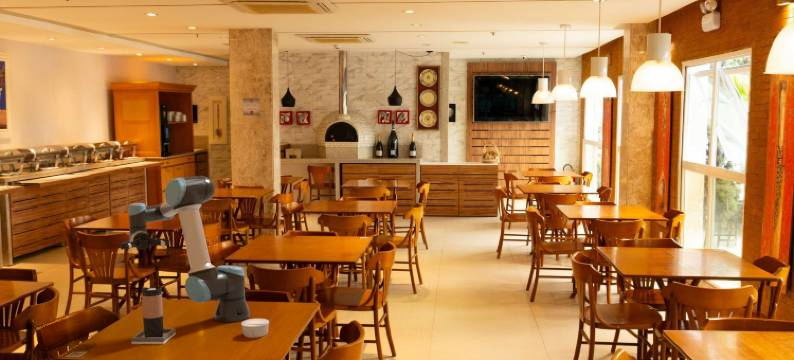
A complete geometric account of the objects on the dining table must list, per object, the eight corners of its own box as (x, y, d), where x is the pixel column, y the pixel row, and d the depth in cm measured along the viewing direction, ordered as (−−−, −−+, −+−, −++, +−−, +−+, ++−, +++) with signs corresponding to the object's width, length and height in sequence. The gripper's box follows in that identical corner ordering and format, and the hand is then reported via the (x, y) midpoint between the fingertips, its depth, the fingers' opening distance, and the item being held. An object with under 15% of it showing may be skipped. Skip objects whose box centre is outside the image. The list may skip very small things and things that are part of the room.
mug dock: (175, 334, 300) (175, 328, 300) (163, 343, 287) (163, 338, 287) (145, 334, 301) (144, 328, 301) (131, 343, 288) (131, 338, 288)
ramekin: (246, 340, 290) (245, 327, 290) (238, 333, 300) (237, 320, 300) (273, 336, 295) (272, 323, 295) (264, 329, 305) (264, 316, 305)
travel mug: (157, 340, 290) (155, 290, 288) (140, 339, 291) (137, 290, 290) (167, 334, 297) (165, 286, 296) (150, 333, 299) (148, 285, 297)
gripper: (169, 245, 337) (178, 252, 318) (112, 251, 326) (117, 258, 307) (169, 229, 336) (177, 235, 317) (111, 234, 325) (116, 241, 306)
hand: (147, 247), depth 312 cm, fingers open, 13 cm apart
